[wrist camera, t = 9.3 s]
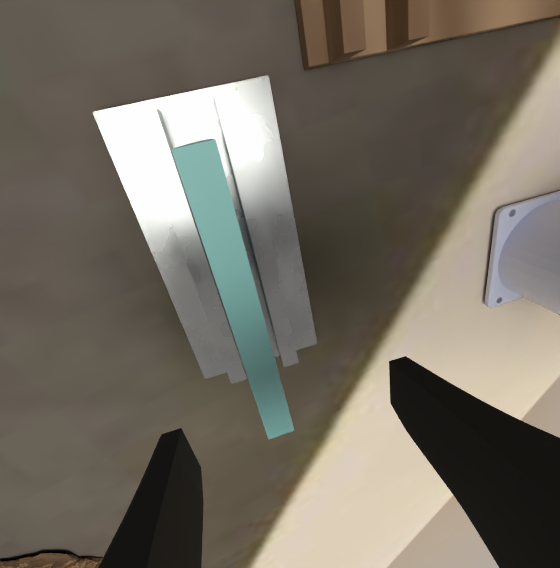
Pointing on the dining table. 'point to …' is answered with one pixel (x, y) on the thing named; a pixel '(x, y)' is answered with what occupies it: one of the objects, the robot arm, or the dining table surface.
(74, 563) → the wooden fragment
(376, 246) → the dining table surface
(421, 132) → the dining table surface
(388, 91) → the dining table surface
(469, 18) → the walnut rack
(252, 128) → the metal slot stand
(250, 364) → the teal board
